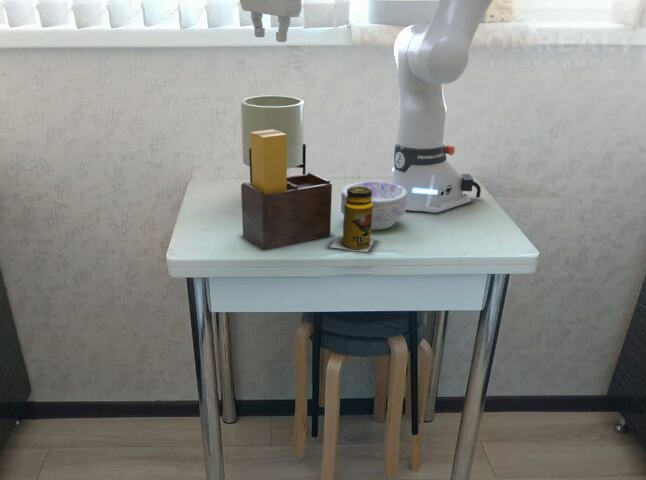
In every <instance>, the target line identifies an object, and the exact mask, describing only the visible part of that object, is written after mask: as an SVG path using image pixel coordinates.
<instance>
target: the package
mask: <svg viewBox="0 0 646 480" xmlns="http://www.w3.org/2000/svg"><path fill="white" fill-rule="evenodd" d="M251 161H252V186H254V187H255V188H257V189H259V190H261V191H263V192H264V194H268V193H274V192H280V191H286V190H287V177H288V175H287V174H288V169H287V134H284V133H282V132H281V131H277V130H274V129H271V130H263V131H255V132H251Z"/></svg>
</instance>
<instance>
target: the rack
mask: <svg viewBox="0 0 646 480" xmlns="http://www.w3.org/2000/svg"><path fill="white" fill-rule="evenodd" d="M240 192H241V193H240V194H241V218H242V219H241V220H242V237H243V238H244V239H246V240H247V241H248V242H251V243H252V244H254V245H255V246H257V247H258V248H260V249H261V250H269V249H274V248H279V247H283V246H289V245H292V244H299V243H303V242H309V241H312V240H316V239H323V238H327V237H331V223H332V221H331V220H332V196H333V193H332V192H333V184H332V183H331V180H329V179H328V178H325V177H323V176H320V175H318V174H316V173H313V172H311V171H310V172H307V173H305V174H303V173H302V174H297V175H291V176H287V190H286V191H280V192H274V193H268V194H264V192H263V191H261V190H259V189H257V188H255V187H254V186H252V183H250V182H242V183H241V184H240Z"/></svg>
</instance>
